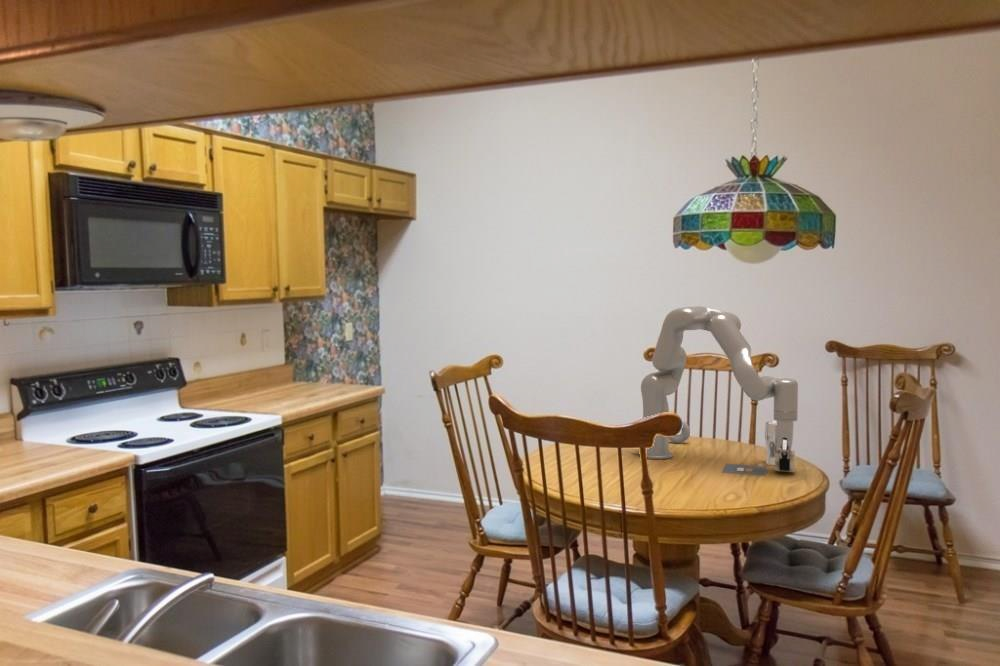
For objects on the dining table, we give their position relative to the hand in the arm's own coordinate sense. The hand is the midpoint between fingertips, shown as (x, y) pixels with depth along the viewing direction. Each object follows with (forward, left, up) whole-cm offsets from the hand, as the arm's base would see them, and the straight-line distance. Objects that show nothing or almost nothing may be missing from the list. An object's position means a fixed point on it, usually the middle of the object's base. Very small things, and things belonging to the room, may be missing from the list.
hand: (784, 467), depth 254 cm
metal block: (0, 0, -1) cm, 1 cm away
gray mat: (-13, 0, -2) cm, 13 cm away
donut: (-42, +39, -2) cm, 57 cm away
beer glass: (-4, +13, -2) cm, 14 cm away
